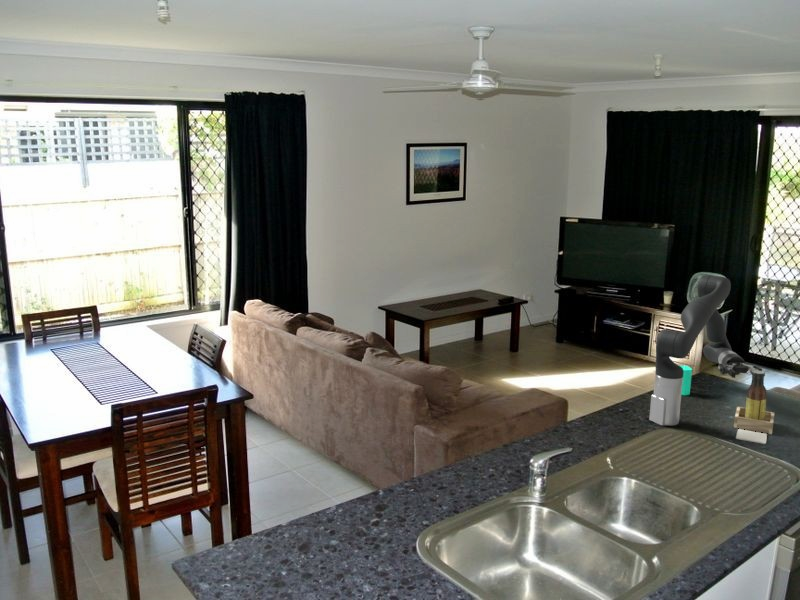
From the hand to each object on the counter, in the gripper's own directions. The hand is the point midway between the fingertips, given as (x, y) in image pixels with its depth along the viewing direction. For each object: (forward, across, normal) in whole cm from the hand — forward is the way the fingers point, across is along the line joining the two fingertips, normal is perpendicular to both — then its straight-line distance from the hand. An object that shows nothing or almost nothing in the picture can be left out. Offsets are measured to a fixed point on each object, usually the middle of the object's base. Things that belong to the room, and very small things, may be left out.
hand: (746, 375), depth 259 cm
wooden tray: (+12, 0, +15) cm, 19 cm away
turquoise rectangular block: (-21, -16, +15) cm, 31 cm away
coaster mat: (+22, -5, +14) cm, 27 cm away
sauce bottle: (+12, 0, +15) cm, 19 cm away
